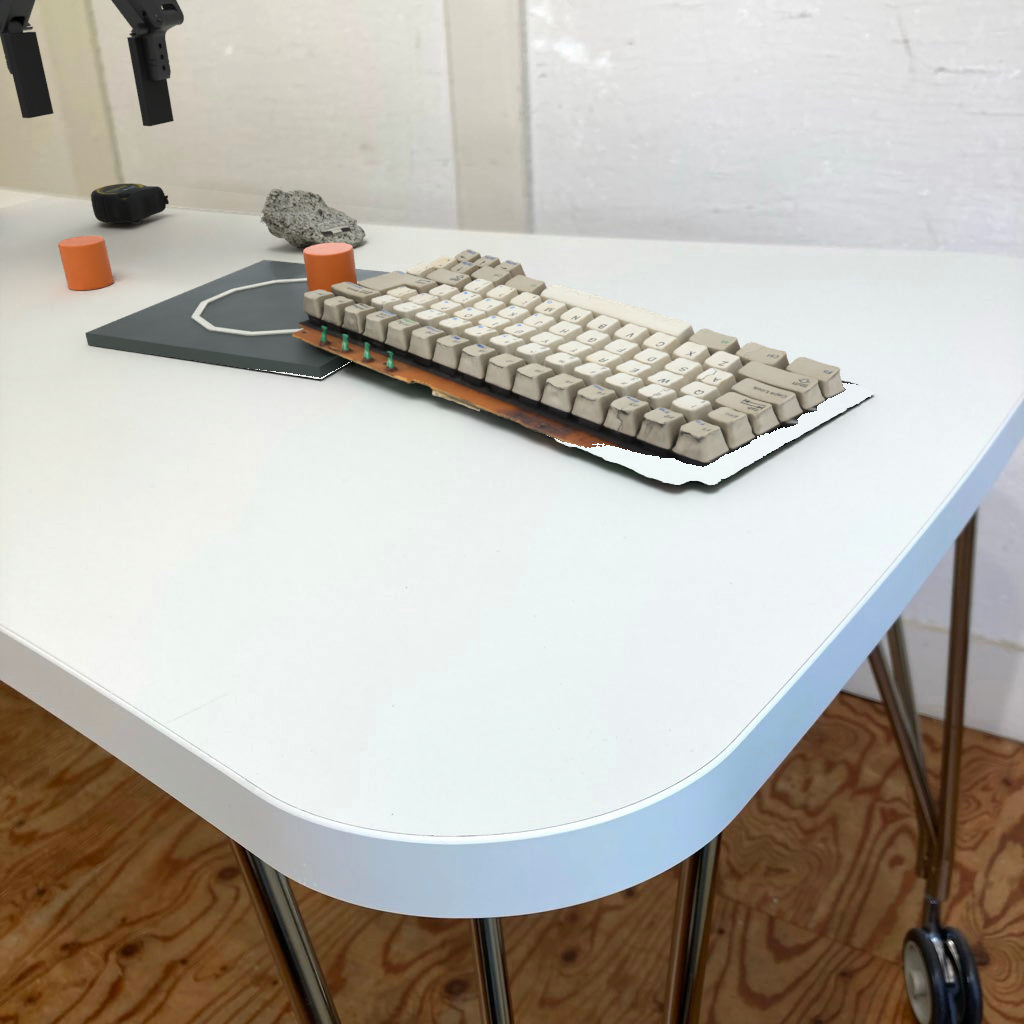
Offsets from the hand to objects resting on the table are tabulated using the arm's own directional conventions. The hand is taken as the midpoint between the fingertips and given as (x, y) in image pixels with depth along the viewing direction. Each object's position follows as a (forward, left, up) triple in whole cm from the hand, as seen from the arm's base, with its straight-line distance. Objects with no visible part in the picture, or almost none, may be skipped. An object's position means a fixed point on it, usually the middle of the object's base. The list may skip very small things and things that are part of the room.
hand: (96, 120), depth 89 cm
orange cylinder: (-5, 0, -14) cm, 15 cm away
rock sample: (+8, +19, -15) cm, 25 cm away
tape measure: (-20, +21, -15) cm, 32 cm away
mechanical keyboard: (+44, -6, -14) cm, 47 cm away
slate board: (+19, -2, -14) cm, 24 cm away
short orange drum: (+21, +1, -13) cm, 25 cm away
